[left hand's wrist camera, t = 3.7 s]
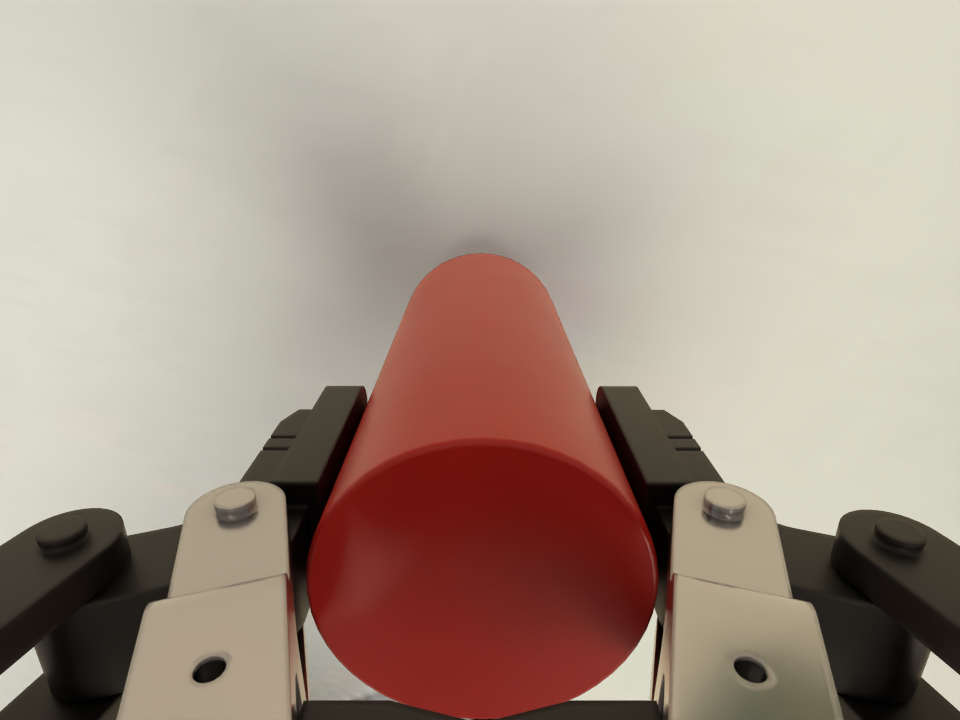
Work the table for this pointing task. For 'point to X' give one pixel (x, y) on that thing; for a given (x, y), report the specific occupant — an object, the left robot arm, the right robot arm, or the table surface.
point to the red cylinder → (481, 512)
